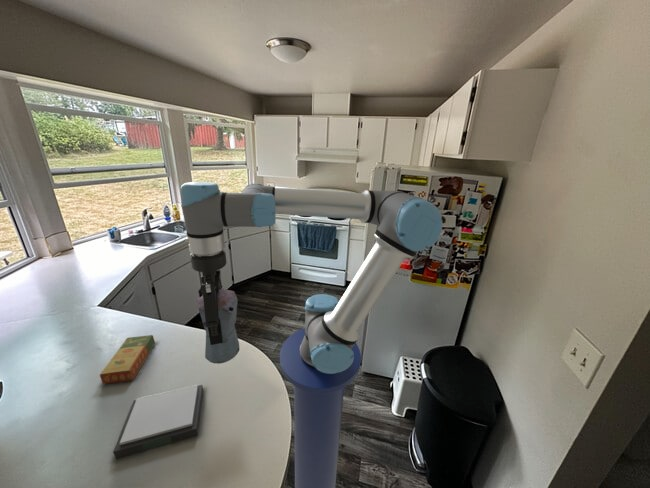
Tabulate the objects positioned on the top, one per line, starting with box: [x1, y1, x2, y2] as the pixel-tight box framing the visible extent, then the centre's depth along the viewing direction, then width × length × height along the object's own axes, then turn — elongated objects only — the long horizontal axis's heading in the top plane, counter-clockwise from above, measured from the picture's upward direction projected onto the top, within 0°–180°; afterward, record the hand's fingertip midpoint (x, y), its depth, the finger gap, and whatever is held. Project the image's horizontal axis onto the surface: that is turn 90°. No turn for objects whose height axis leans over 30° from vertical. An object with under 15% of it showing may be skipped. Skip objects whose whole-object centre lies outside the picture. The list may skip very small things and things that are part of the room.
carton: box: [99, 334, 156, 385], centre depth 82 cm, size 8×16×4 cm, turn 12°
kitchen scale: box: [112, 384, 204, 460], centre depth 65 cm, size 17×13×3 cm
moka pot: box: [196, 287, 240, 365], centre depth 65 cm, size 10×15×20 cm, turn 58°
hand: (218, 328), depth 66 cm, fingers closed on moka pot, 10 cm apart
